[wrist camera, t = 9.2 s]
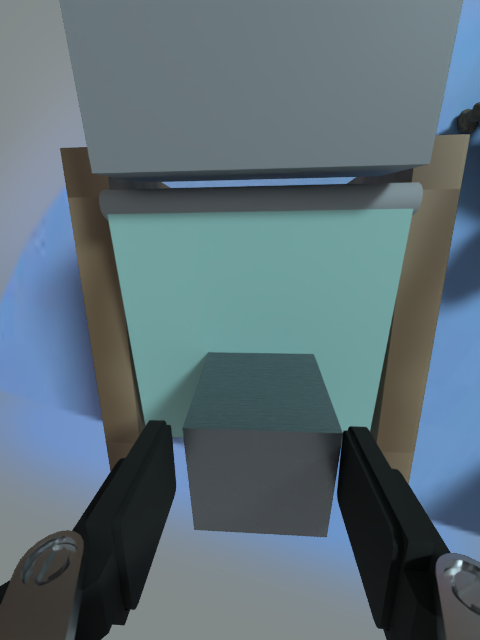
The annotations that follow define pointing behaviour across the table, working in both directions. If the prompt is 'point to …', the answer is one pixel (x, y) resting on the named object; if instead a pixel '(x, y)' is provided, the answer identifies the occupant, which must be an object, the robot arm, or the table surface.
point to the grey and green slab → (259, 176)
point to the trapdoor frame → (406, 326)
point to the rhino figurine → (469, 119)
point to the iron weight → (262, 445)
